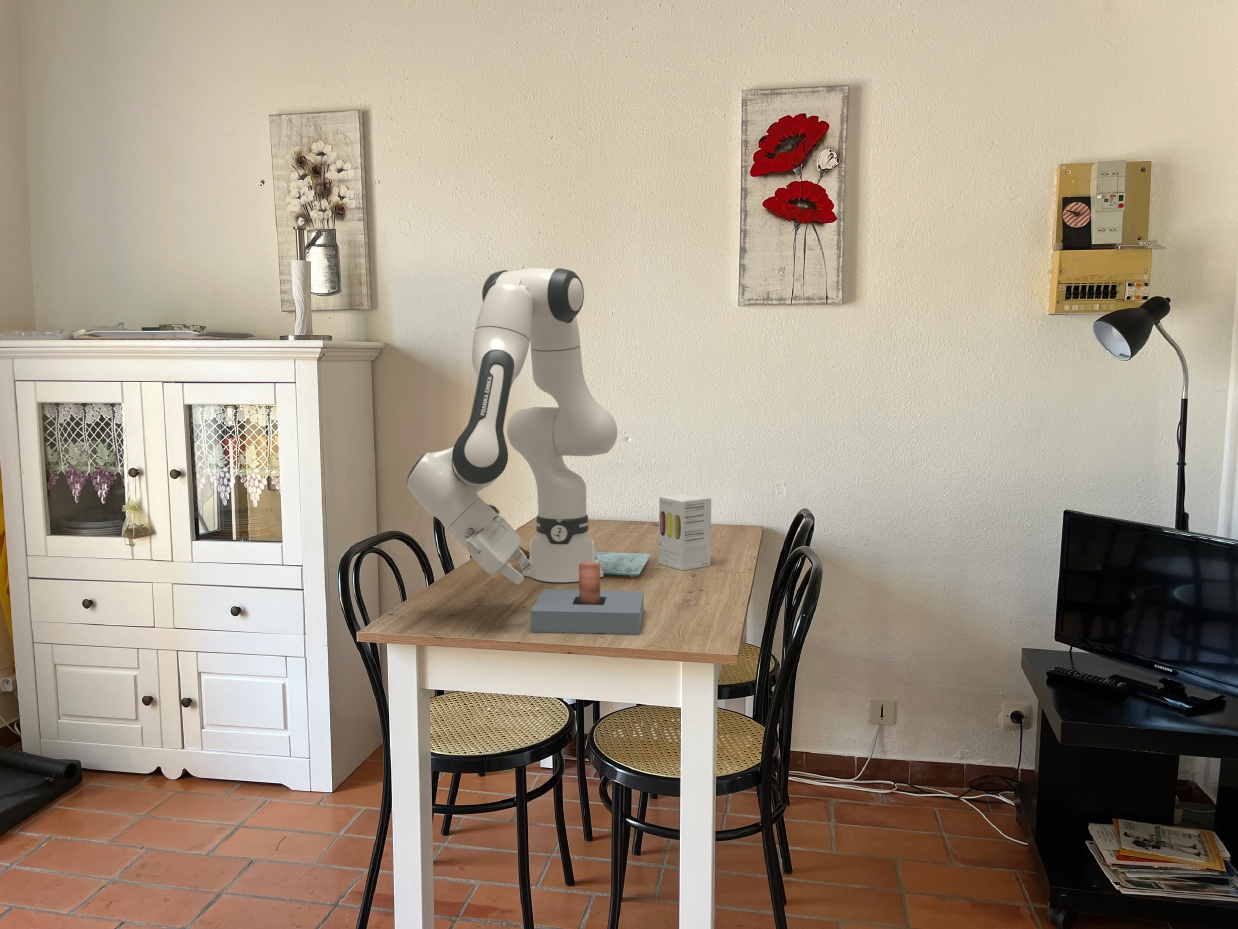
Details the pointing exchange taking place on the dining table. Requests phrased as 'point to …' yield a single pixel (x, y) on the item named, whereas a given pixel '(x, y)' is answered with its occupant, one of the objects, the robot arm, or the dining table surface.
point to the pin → (589, 583)
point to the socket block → (588, 612)
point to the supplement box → (684, 531)
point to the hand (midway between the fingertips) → (526, 575)
